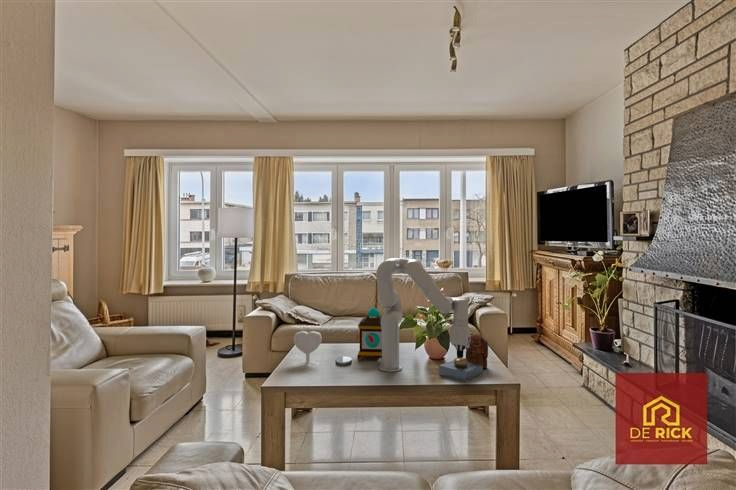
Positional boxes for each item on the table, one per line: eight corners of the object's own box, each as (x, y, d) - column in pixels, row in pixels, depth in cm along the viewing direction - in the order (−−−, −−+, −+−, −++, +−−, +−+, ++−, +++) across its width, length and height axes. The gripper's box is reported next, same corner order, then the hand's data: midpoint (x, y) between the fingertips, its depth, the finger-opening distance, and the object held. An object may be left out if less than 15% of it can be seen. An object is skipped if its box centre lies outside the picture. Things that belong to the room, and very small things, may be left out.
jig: (439, 374, 219) (439, 365, 219) (456, 368, 230) (456, 359, 230) (465, 382, 207) (465, 372, 207) (482, 375, 218) (482, 365, 218)
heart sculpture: (293, 364, 238) (293, 332, 238) (295, 361, 243) (295, 330, 243) (320, 364, 237) (320, 332, 237) (322, 362, 242) (322, 330, 242)
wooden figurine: (465, 368, 229) (465, 335, 229) (465, 365, 235) (465, 333, 235) (488, 370, 227) (488, 336, 227) (487, 366, 233) (487, 334, 233)
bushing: (458, 371, 223) (458, 357, 223) (470, 374, 219) (470, 359, 219) (451, 374, 219) (451, 359, 219) (462, 377, 214) (462, 362, 214)
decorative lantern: (391, 353, 261) (391, 305, 260) (389, 362, 241) (389, 310, 241) (359, 352, 263) (358, 304, 262) (354, 361, 243) (354, 309, 243)
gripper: (444, 321, 221) (443, 355, 221) (469, 325, 210) (468, 362, 211) (452, 319, 226) (452, 353, 227) (477, 323, 216) (476, 359, 216)
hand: (460, 357), depth 219 cm, fingers closed
